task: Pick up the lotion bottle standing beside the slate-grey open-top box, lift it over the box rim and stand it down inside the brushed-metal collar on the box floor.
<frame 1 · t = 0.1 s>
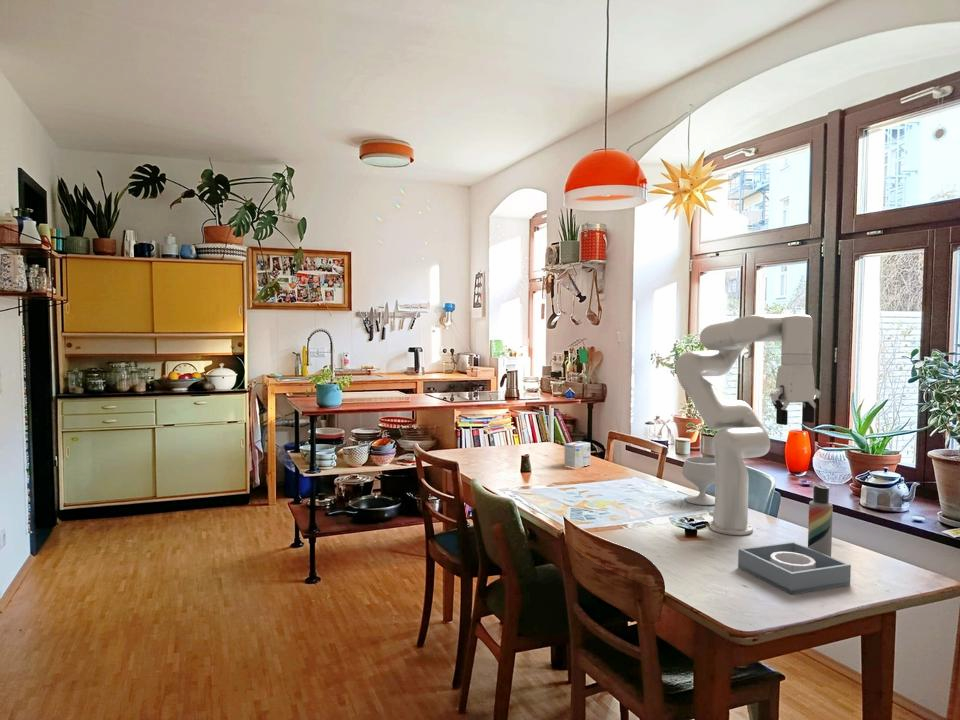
hand: (795, 423, 176), 37 cm above the table, tool pointing down, fingers open, 9 cm apart
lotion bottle: (819, 558, 176), on the table
light bulb box: (577, 467, 291), on the table
socket box: (792, 576, 163), on the table
chalice: (702, 502, 233), on the table
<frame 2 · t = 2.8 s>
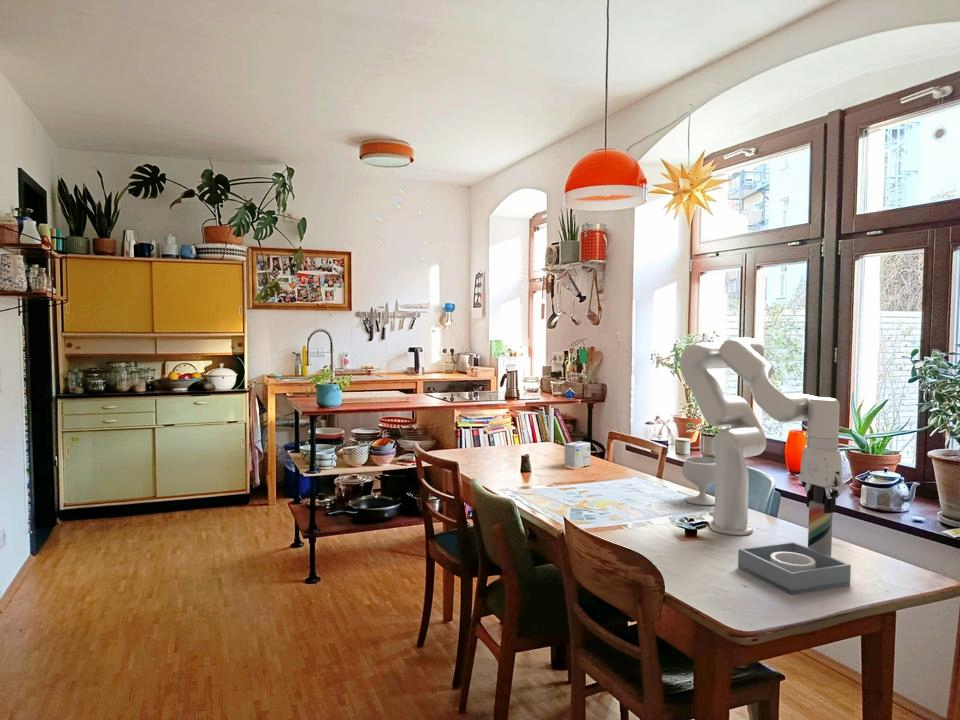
hand: (820, 508, 176), 13 cm above the table, tool pointing down, fingers closed on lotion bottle, 5 cm apart
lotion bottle: (819, 558, 176), on the table, touching gripper
everything else where it was.
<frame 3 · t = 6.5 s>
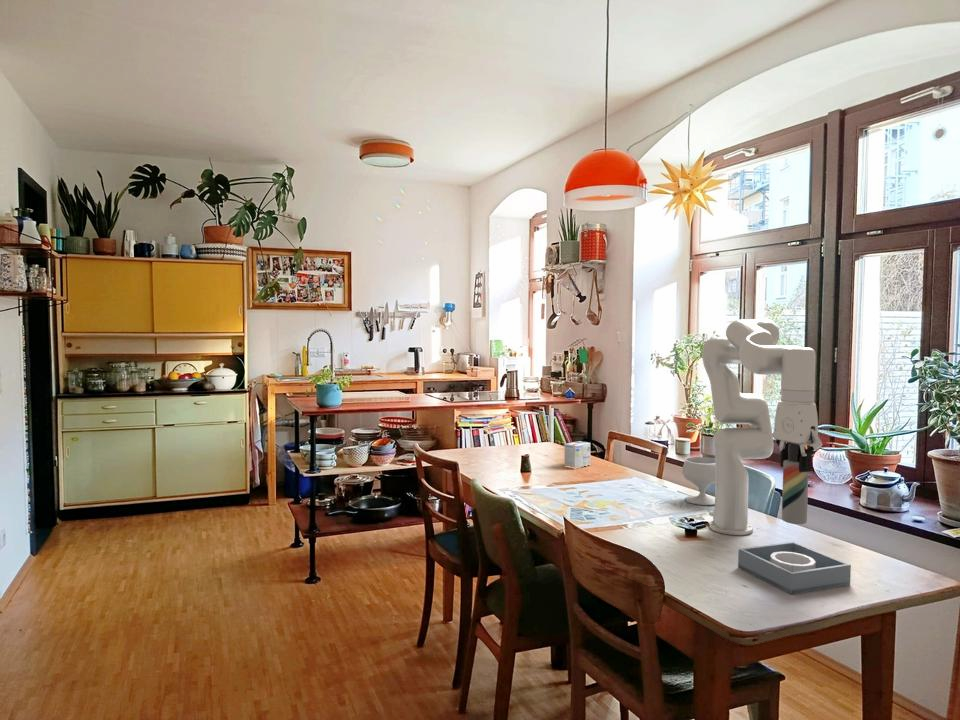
hand: (795, 468, 162), 27 cm above the table, tool pointing down, fingers closed on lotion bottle, 5 cm apart
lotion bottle: (794, 522, 163), point 14 cm above the table, touching gripper
everything else where it was.
when the fingers open (15 cm above the table, at t = 10.2 s): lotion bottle stays where it is, resting on socket box.
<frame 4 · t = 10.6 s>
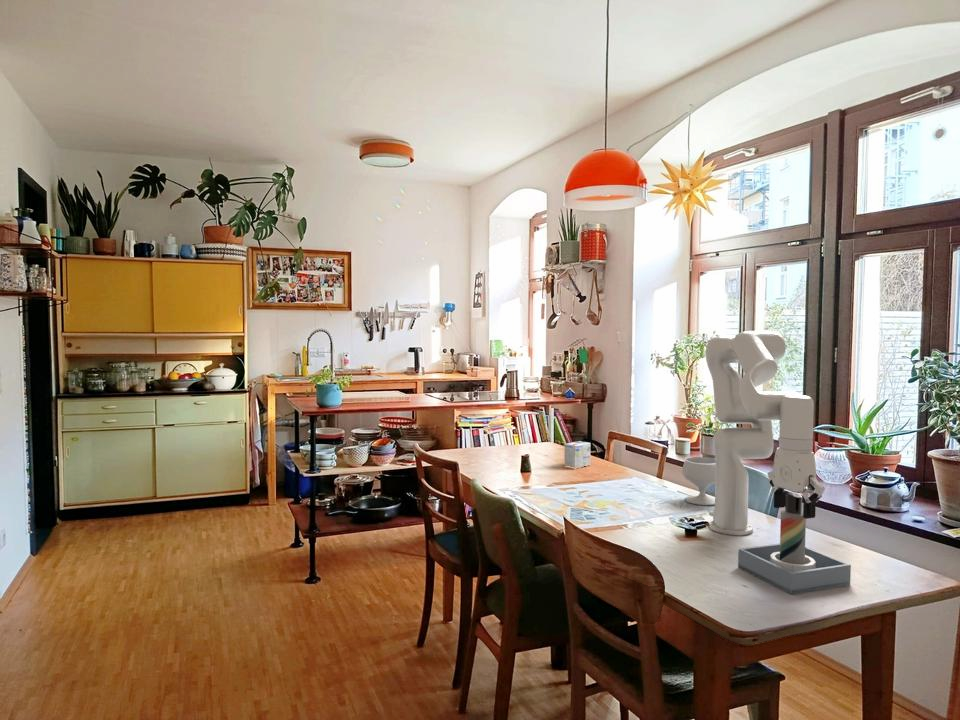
hand: (793, 512, 163), 16 cm above the table, tool pointing down, fingers open, 9 cm apart
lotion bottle: (791, 572, 164), point 1 cm above the table, touching socket box
everything else where it was.
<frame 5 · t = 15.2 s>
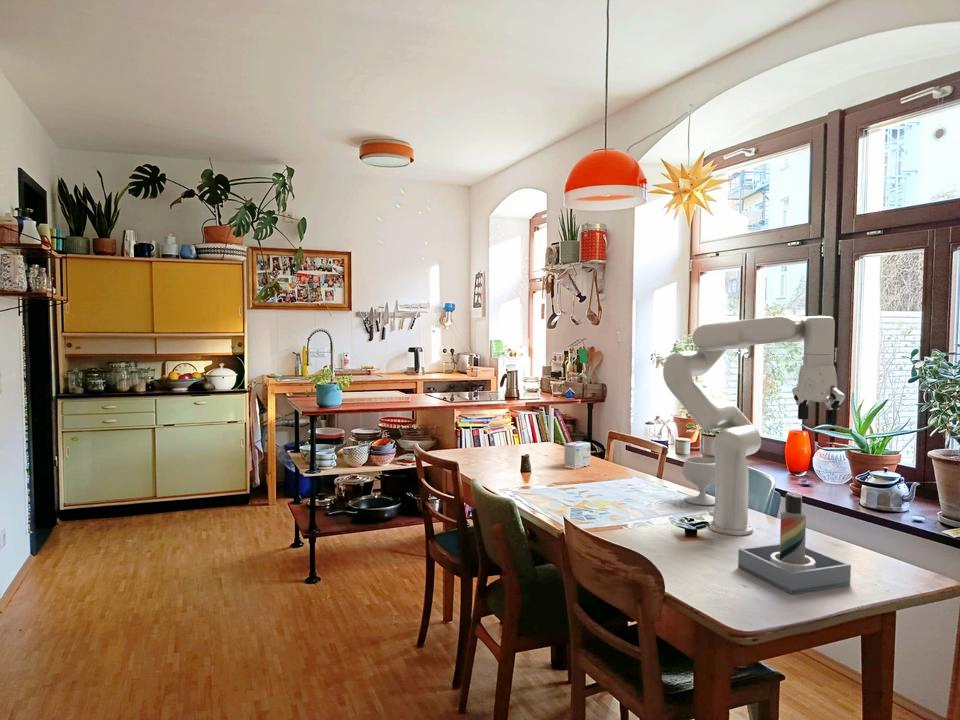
hand: (816, 421, 181), 36 cm above the table, tool pointing down, fingers open, 9 cm apart
nothing on the table moved.
at the end: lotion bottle 0.2 cm from the socket box (horizontally); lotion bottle point 0.8 cm above the table; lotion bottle tilted 0° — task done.
